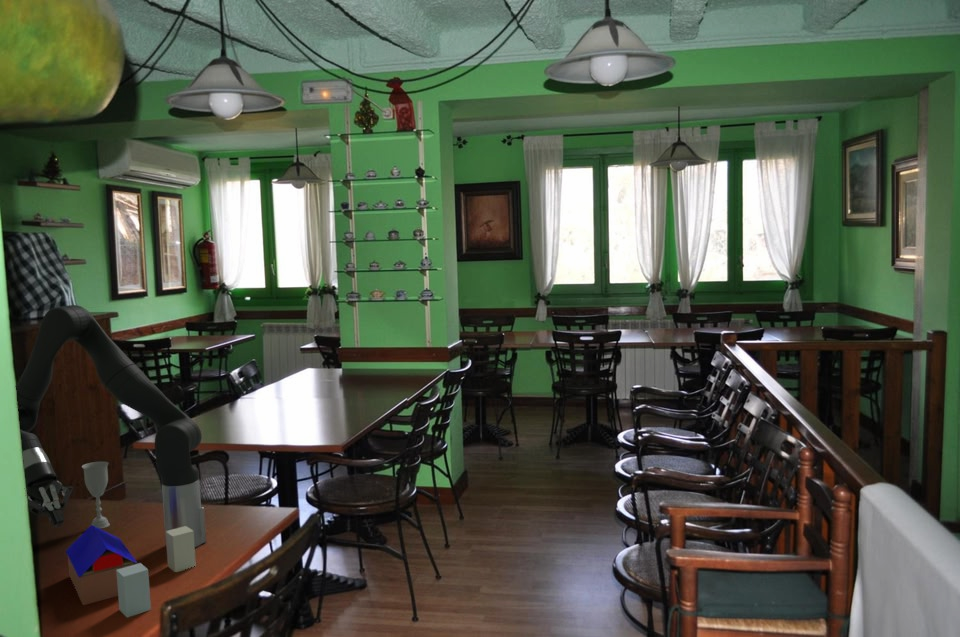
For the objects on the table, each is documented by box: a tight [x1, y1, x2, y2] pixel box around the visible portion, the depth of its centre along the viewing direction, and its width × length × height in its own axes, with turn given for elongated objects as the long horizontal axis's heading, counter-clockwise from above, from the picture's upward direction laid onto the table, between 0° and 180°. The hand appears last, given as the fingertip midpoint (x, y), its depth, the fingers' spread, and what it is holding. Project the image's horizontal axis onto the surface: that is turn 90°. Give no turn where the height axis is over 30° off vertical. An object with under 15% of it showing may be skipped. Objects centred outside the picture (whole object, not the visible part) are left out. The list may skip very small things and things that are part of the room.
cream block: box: [164, 526, 197, 573], centre depth 185 cm, size 5×5×9 cm
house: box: [65, 524, 138, 606], centre depth 176 cm, size 12×20×12 cm, turn 36°
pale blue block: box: [116, 562, 152, 618], centre depth 162 cm, size 5×5×9 cm
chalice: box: [81, 461, 111, 530], centre depth 215 cm, size 7×7×18 cm
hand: (59, 524), depth 189 cm, fingers closed
